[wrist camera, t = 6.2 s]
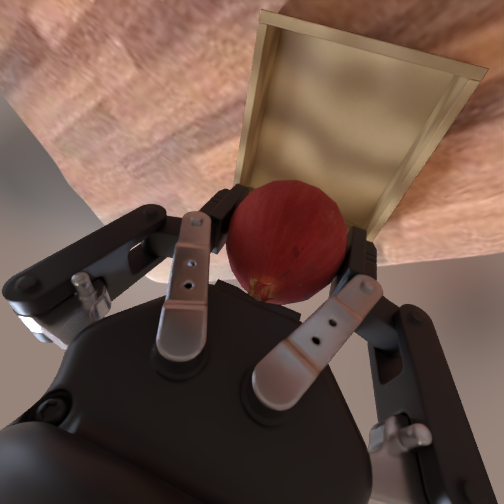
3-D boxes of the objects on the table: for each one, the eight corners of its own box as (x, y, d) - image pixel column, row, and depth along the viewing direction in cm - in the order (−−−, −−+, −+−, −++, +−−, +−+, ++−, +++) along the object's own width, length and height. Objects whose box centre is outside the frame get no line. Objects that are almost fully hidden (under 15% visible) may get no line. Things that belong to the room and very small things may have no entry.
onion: (366, 231, 15) (360, 352, 9) (281, 252, 18) (238, 352, 13) (328, 137, 13) (289, 222, 7) (239, 181, 16) (162, 263, 10)
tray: (277, 12, 21) (260, 8, 18) (471, 64, 19) (489, 68, 16) (244, 188, 32) (230, 204, 29) (364, 232, 30) (363, 255, 27)
